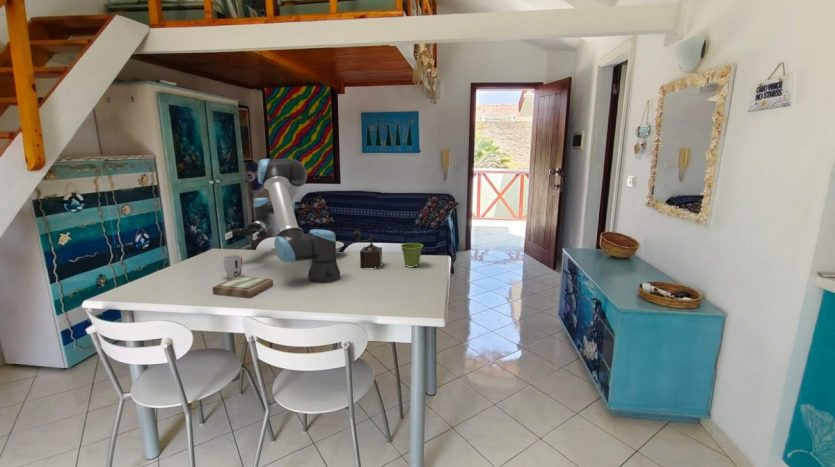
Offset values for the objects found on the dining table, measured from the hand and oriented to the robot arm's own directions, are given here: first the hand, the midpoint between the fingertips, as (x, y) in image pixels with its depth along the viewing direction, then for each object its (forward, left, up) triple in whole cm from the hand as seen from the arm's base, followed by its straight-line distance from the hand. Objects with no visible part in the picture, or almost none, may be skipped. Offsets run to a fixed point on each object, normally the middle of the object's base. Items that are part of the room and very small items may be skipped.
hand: (239, 237), depth 195 cm
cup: (-3, +10, -18) cm, 20 cm away
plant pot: (-80, -31, -18) cm, 88 cm away
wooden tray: (-19, +24, -18) cm, 35 cm away
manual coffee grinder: (-57, -25, -18) cm, 65 cm away
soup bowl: (-25, -38, -18) cm, 49 cm away
